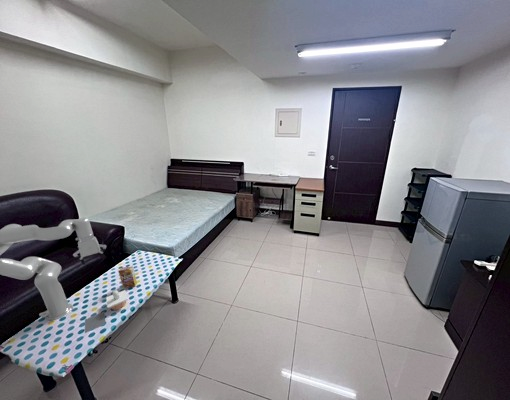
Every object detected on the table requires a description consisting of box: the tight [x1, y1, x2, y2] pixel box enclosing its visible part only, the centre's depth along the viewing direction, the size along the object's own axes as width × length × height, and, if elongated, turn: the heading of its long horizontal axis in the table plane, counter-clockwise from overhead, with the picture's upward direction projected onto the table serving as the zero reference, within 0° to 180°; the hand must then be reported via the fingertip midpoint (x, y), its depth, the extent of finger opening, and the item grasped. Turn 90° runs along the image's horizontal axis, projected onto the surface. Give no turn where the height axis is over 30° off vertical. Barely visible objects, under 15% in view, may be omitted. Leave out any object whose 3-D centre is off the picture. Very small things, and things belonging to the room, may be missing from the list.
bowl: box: [110, 301, 127, 311], centre depth 143 cm, size 9×9×5 cm
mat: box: [84, 311, 107, 334], centre depth 131 cm, size 10×12×1 cm
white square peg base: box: [106, 289, 128, 309], centre depth 141 cm, size 11×11×6 cm
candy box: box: [118, 266, 138, 289], centre depth 159 cm, size 9×4×15 cm, turn 98°
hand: (93, 261), depth 140 cm, fingers open, 9 cm apart
